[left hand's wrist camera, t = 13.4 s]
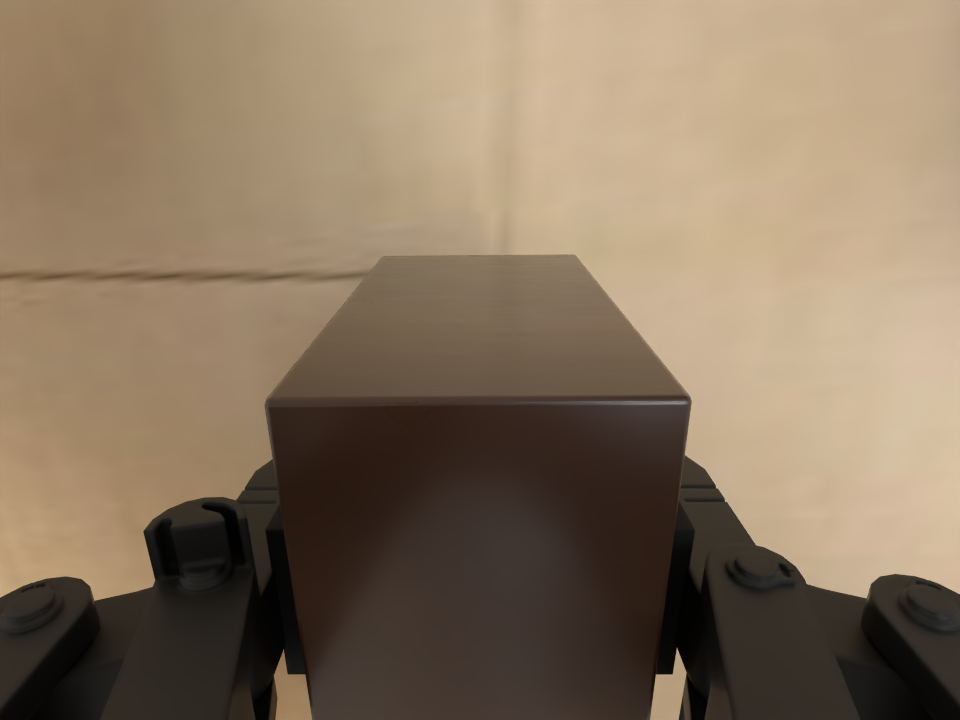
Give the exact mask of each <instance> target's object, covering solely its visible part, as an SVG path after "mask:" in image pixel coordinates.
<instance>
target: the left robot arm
mask: <svg viewBox="0 0 960 720" xmlns="http://www.w3.org/2000/svg"><path fill="white" fill-rule="evenodd" d="M143 532H144V536H145V540H146V544H147V548H148V552H149V556H150V560H151V564H152V568H153V572H154V576H155V583H154V585H153V587H151V588H148V589H144V590H141V591H137V592H133V593H128V594H124V595H119V596H115V597H110V598H106V599H101V600H96V601H94V598H93V595H92V591H91V588H90V586H89V585H88V584H86V583H85V582H84V581H83V580H82V579H77V578H71V577H58V578H49V579H44V580H41V581H37V582H35V583H31V584H28V585H25V586H22V587H20V588H18V589H17V590H15V591H13V592H11V593H9V594H7V595H5V596H3V597H1V598H0V720H275V717H276V707H277V693H276V686H275V680H274V673H275V671H276V668H277V665H278V663H279V660H280V657H281V655H282V652H283V650H284V653H285V659H286V666H287V672H288V674H305V667H304V661H303V654H302V648H301V641H300V634H299V628H298V621H297V615H296V608H295V601H294V595H293V588H292V582H291V575H290V568H289V562H288V555H287V549H286V542H285V535H284V529H283V522H282V516H281V509H280V502H279V496H278V489H277V483H276V476H275V469H274V463H273V459H272V460H271V461H270V462H268V463H267V464H265V465H264V466H263V467H261V468H260V469H258V470H257V471H256V472H255V473H254V475H253V476H252V478H251V479H250V481H249V482H248V484H247V485H246V487H245V491H242V493H241V494H240V496H239V497H238V499H237V500H232V499H228V498H224V497H211V498H201V499H197V500H192V501H188V502H185V503H182V504H180V505H177V506H175V507H173V508H170V509H168V510H166V511H165V512H163V513H162V514H160V515H159V516H158V517H156V518H155V519H153V520H152V521H151V523H150V524H149V525H148V526H147V528H146V529H145V530H144V531H143ZM677 648H678V651H679V654H680V656H681V659H682V661H683V664H684V667H685V669H686V672H687V674H686V680H685V686H684V692H683V698H682V704H681V710H680V715H679V720H960V594H958V593H956V592H954V591H952V590H950V589H948V588H946V587H944V586H942V585H940V584H938V583H935V582H932V581H929V580H926V579H922V578H919V577H916V576H907V575H898V574H893V575H887V576H881V577H879V578H878V579H877V580H875V581H874V582H873V583H872V584H871V586H870V590H869V593H868V596H867V599H866V598H861V597H857V596H852V595H848V594H843V593H839V592H834V591H830V590H825V589H821V588H818V587H814V586H811V585H808V584H806V582H805V579H804V578H803V576H802V575H801V574H800V572H799V571H798V569H797V568H796V567H795V566H794V565H793V564H792V563H790V562H789V561H788V560H786V559H785V558H784V557H783V556H781V555H779V554H777V553H775V552H772V551H770V550H768V549H766V548H764V547H760V546H756V545H755V543H754V542H753V540H752V539H751V537H750V536H749V534H748V533H747V531H746V530H745V528H744V527H743V525H742V524H741V522H740V521H739V519H738V518H737V516H736V515H735V513H734V512H733V510H732V509H731V508H730V506H729V505H728V503H727V502H725V499H724V497H723V496H722V494H721V493H720V491H719V490H718V489H716V485H715V484H714V482H713V481H712V479H711V478H710V476H709V475H708V473H707V472H706V470H705V469H704V468H702V467H701V466H699V465H698V464H697V463H695V462H694V461H692V460H691V459H689V458H688V457H687V456H684V463H683V470H682V478H681V486H680V493H679V501H678V509H677V516H676V524H675V531H674V539H673V547H672V554H671V562H670V570H669V577H668V585H667V592H666V600H665V608H664V615H663V623H662V631H661V638H660V646H659V653H658V661H657V669H656V674H673V668H674V662H675V655H676V649H677Z"/></svg>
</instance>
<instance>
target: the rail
mask: <svg viewBox="0 0 960 720" xmlns="http://www.w3.org/2000/svg"><path fill="white" fill-rule="evenodd" d="M691 402H692V401H691V398H690V396H689V395H688V393H687V392H686V391H685V390H684V388H683V387H682V386H681V385H680V383H679V382H678V381H677V380H676V379H675V377H674V376H673V375H672V374H671V372H670V371H669V370H668V369H667V367H666V366H665V365H664V364H663V363H662V361H661V360H660V359H659V358H658V356H657V355H656V354H655V353H654V351H653V350H652V349H651V348H650V347H649V345H648V344H647V343H646V342H645V340H644V339H643V338H642V337H641V335H640V334H639V333H638V332H637V331H636V329H635V328H634V327H633V326H632V324H631V323H630V322H629V321H628V319H627V318H626V317H625V316H624V315H623V313H622V312H621V311H620V310H619V308H618V307H617V306H616V305H615V303H614V302H613V301H612V300H611V298H610V297H609V296H608V295H607V294H606V292H605V291H604V290H603V289H602V287H601V286H600V285H599V284H598V282H597V281H596V280H595V279H594V278H593V276H592V275H591V274H590V273H589V271H588V270H587V269H586V268H585V266H584V265H583V264H582V263H581V262H580V260H579V259H578V258H577V257H576V256H575V255H474V256H384V257H382V258H381V259H380V260H379V262H378V263H377V264H376V265H375V266H374V268H373V269H372V270H371V271H370V273H369V274H368V275H367V276H366V277H365V279H364V280H363V281H362V282H361V284H360V285H359V286H358V287H357V289H356V290H355V291H354V292H353V293H352V295H351V296H350V297H349V298H348V300H347V301H346V302H345V303H344V305H343V306H342V307H341V308H340V309H339V311H338V312H337V313H336V314H335V316H334V317H333V318H332V319H331V320H330V322H329V323H328V324H327V325H326V327H325V328H324V329H323V330H322V332H321V333H320V334H319V335H318V336H317V338H316V339H315V340H314V341H313V343H312V344H311V345H310V346H309V348H308V349H307V350H306V351H305V352H304V354H303V355H302V356H301V357H300V359H299V360H298V361H297V362H296V364H295V365H294V366H293V367H292V368H291V370H290V371H289V372H288V373H287V375H286V376H285V377H284V378H283V379H282V381H281V382H280V383H279V384H278V386H277V387H276V388H275V389H274V391H273V392H272V393H271V394H270V395H269V397H268V398H267V399H266V402H265V410H266V417H267V423H268V430H269V436H270V443H271V450H272V456H273V463H274V469H275V476H276V483H277V489H278V496H279V502H280V509H281V516H282V522H283V529H284V535H285V542H286V549H287V555H288V562H289V568H290V575H291V582H292V588H293V595H294V601H295V608H296V615H297V621H298V628H299V634H300V641H301V648H302V654H303V661H304V667H305V674H306V681H307V687H308V694H309V700H310V707H311V714H312V720H650V714H651V707H652V699H653V692H654V684H655V676H656V669H657V661H658V653H659V646H660V638H661V631H662V623H663V615H664V608H665V600H666V592H667V585H668V577H669V570H670V562H671V554H672V547H673V539H674V531H675V524H676V516H677V509H678V501H679V493H680V486H681V478H682V470H683V463H684V455H685V448H686V440H687V432H688V425H689V417H690V409H691Z"/></svg>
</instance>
